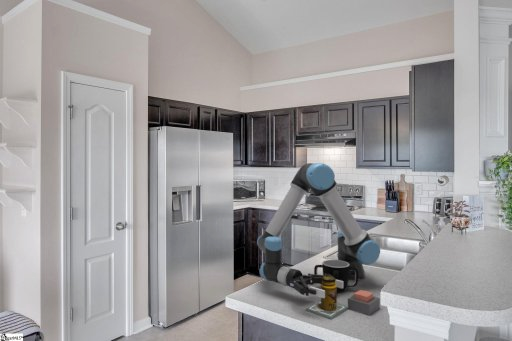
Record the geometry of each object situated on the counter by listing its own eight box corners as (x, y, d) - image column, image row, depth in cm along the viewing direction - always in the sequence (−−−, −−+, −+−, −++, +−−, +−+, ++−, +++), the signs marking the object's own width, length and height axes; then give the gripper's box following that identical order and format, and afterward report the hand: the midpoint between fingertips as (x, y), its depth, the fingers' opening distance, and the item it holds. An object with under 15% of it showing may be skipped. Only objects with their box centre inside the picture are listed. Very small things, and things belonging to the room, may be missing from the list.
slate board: (323, 301, 144) (323, 299, 144) (348, 309, 136) (348, 306, 136) (305, 310, 135) (305, 308, 135) (331, 319, 127) (331, 317, 127)
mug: (311, 285, 161) (311, 260, 161) (338, 281, 168) (339, 256, 168) (332, 298, 147) (332, 270, 146) (361, 292, 153) (362, 266, 153)
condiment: (338, 312, 131) (338, 281, 130) (316, 311, 132) (315, 280, 131) (336, 304, 138) (336, 274, 138) (315, 303, 139) (314, 274, 139)
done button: (360, 297, 140) (360, 289, 140) (373, 300, 136) (373, 293, 136) (354, 301, 136) (354, 293, 136) (367, 304, 132) (367, 297, 132)
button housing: (358, 301, 143) (358, 292, 143) (379, 308, 136) (379, 298, 136) (347, 308, 136) (347, 298, 136) (369, 315, 130) (369, 304, 130)
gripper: (307, 278, 157) (349, 290, 142) (271, 294, 138) (316, 309, 124) (307, 262, 156) (349, 272, 142) (271, 275, 138) (315, 288, 124)
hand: (334, 289), depth 133 cm, fingers open, 13 cm apart
